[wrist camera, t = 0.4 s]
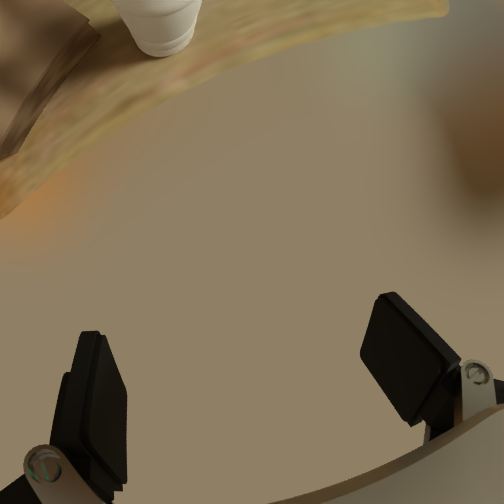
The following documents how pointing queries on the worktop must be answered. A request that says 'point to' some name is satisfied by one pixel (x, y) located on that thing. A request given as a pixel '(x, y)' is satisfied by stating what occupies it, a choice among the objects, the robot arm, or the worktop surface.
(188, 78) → the worktop surface
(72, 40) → the brown wooden block
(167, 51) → the water bottle
